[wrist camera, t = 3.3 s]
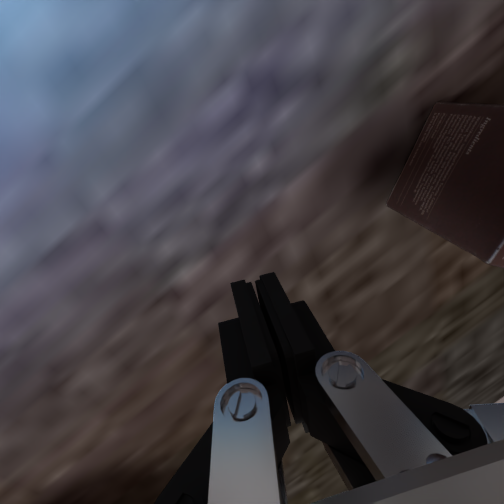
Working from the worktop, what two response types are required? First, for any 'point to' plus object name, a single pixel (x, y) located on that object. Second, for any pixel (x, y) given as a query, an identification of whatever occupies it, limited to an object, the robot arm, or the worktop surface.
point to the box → (458, 178)
